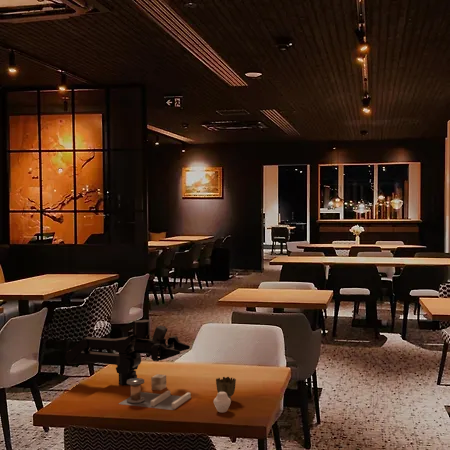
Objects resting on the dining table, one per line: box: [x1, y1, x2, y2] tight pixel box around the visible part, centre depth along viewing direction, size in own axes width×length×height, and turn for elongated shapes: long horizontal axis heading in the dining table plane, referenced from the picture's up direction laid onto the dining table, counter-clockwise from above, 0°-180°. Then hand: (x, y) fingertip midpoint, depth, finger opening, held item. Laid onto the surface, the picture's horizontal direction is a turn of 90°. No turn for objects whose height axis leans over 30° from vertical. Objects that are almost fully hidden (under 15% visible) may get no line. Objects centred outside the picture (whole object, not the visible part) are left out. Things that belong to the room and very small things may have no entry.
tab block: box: [150, 373, 167, 391], centre depth 251 cm, size 4×5×6 cm
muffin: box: [212, 392, 232, 413], centre depth 226 cm, size 6×6×7 cm
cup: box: [215, 376, 237, 401], centre depth 238 cm, size 8×7×8 cm
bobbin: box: [126, 377, 145, 404], centre depth 234 cm, size 6×6×8 cm
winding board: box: [118, 390, 192, 411], centre depth 235 cm, size 22×16×3 cm
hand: (184, 349), depth 249 cm, fingers open, 9 cm apart
